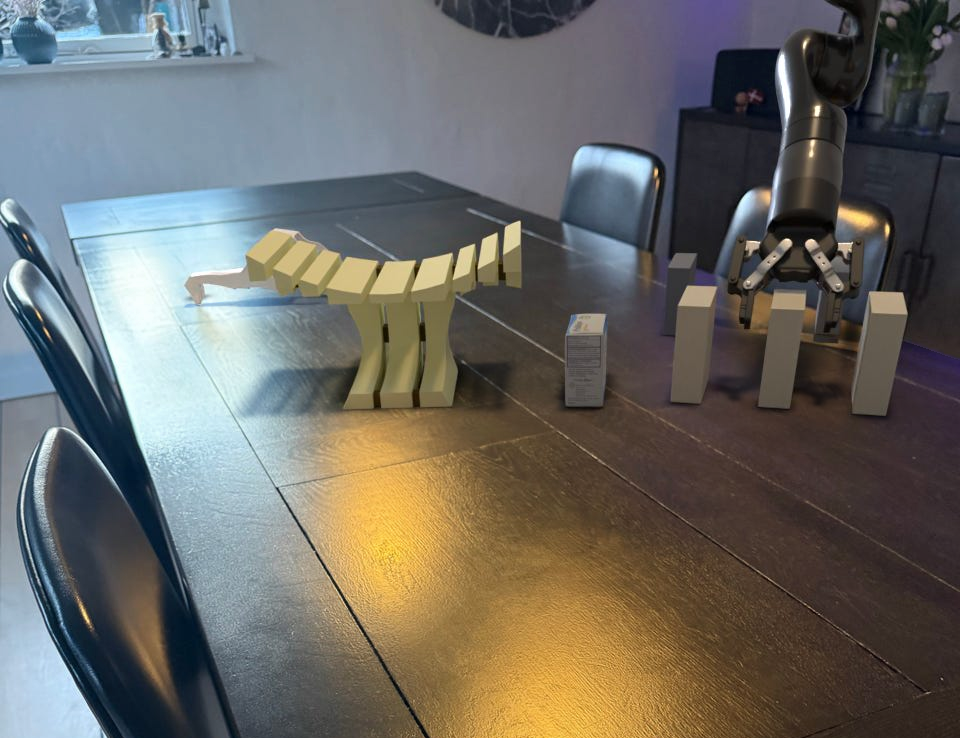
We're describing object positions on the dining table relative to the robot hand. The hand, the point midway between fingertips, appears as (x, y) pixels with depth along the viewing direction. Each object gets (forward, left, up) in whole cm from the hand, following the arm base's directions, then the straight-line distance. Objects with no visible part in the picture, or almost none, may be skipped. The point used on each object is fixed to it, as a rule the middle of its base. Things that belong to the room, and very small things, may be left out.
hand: (786, 327), depth 103 cm
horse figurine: (+7, -87, -8) cm, 87 cm away
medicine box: (+12, -19, -8) cm, 24 cm away
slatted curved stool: (+22, -40, -8) cm, 46 cm away
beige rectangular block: (-1, -1, -8) cm, 8 cm away
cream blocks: (-1, -1, -8) cm, 8 cm away
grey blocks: (-22, -16, -8) cm, 28 cm away
